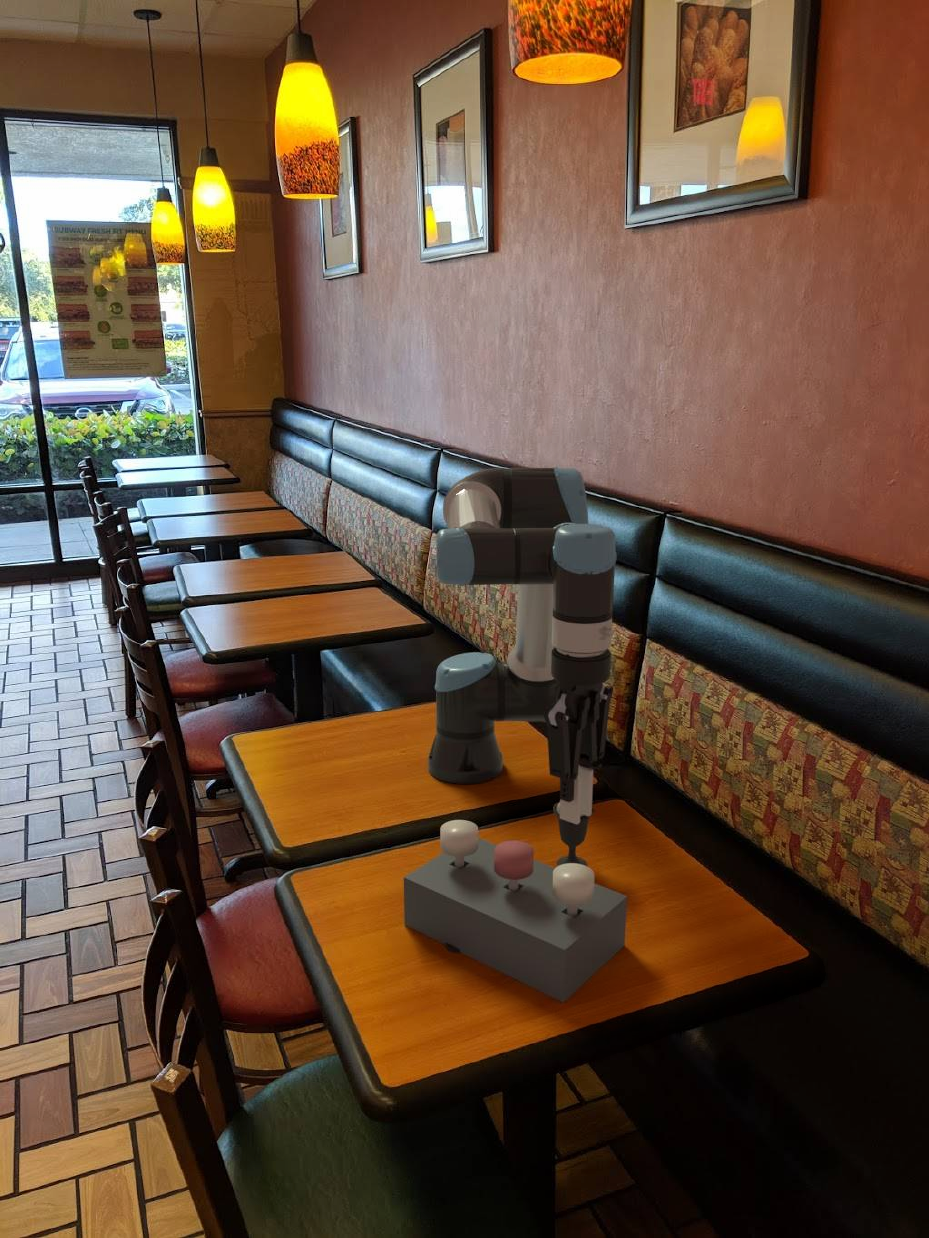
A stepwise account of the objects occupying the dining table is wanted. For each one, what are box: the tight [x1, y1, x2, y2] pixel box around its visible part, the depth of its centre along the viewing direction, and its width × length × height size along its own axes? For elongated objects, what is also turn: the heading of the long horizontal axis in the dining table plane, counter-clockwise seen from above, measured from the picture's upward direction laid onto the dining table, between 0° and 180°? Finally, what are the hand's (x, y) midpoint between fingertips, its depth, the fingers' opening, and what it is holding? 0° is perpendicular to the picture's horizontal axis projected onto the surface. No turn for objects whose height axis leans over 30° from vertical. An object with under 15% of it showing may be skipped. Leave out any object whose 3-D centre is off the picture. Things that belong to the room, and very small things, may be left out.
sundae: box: [552, 799, 595, 867], centre depth 158 cm, size 7×7×15 cm
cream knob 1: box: [439, 819, 479, 869], centre depth 145 cm, size 6×6×8 cm
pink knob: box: [494, 840, 535, 892], centre depth 139 cm, size 6×6×8 cm
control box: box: [403, 837, 628, 1003], centre depth 140 cm, size 16×28×8 cm, turn 51°
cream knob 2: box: [552, 863, 595, 918], centre depth 133 cm, size 6×6×8 cm
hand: (575, 816), depth 129 cm, fingers open, 2 cm apart
